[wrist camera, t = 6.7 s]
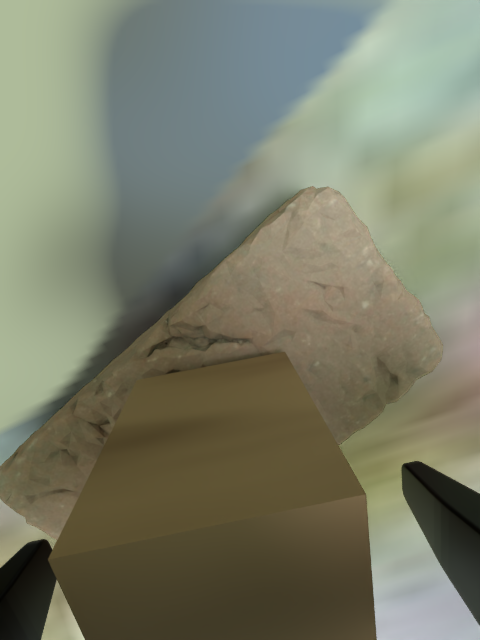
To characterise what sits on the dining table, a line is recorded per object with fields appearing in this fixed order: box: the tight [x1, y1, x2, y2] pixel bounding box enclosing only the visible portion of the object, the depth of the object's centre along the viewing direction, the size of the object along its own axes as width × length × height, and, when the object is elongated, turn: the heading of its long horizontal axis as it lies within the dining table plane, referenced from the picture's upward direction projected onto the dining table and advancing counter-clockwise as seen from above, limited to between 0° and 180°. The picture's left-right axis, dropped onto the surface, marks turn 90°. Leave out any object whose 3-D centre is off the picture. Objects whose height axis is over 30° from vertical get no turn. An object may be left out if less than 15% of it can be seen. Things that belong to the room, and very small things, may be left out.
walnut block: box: [48, 352, 377, 640], centre depth 9 cm, size 5×5×6 cm
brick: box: [0, 186, 443, 540], centre depth 14 cm, size 17×8×5 cm, turn 132°
